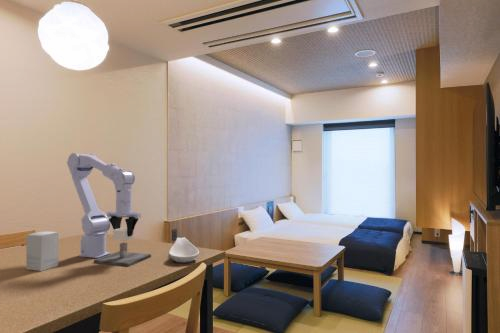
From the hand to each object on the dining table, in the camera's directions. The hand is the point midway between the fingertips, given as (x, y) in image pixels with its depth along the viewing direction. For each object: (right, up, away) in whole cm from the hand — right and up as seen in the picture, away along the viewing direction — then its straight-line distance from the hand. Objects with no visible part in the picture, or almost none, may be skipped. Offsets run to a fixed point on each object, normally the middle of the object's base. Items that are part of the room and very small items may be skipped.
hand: (123, 235), depth 132 cm
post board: (0, -10, 0) cm, 10 cm away
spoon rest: (+23, -10, +4) cm, 25 cm away
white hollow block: (0, -1, 0) cm, 1 cm away
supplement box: (-25, -10, -11) cm, 29 cm away
